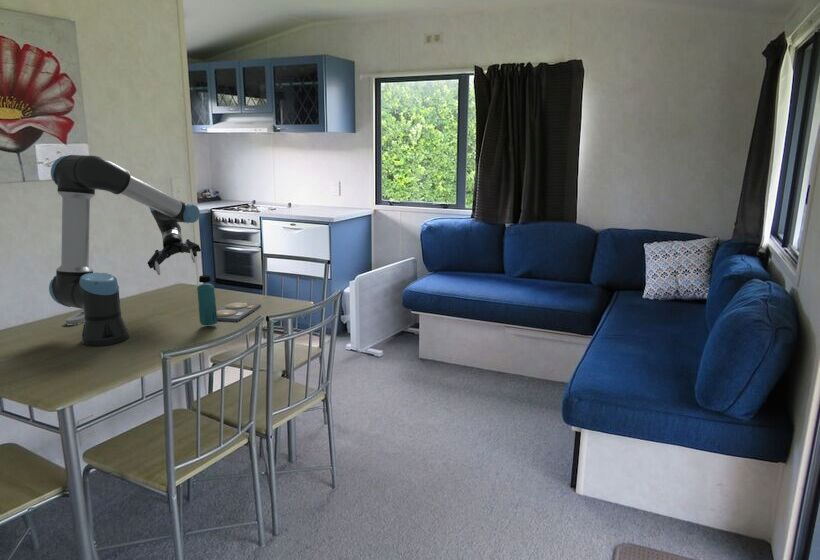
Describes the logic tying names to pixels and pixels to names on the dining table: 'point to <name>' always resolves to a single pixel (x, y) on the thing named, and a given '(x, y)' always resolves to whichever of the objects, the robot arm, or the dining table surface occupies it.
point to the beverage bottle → (206, 302)
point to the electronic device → (76, 318)
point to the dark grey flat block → (235, 311)
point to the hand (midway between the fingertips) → (175, 265)
